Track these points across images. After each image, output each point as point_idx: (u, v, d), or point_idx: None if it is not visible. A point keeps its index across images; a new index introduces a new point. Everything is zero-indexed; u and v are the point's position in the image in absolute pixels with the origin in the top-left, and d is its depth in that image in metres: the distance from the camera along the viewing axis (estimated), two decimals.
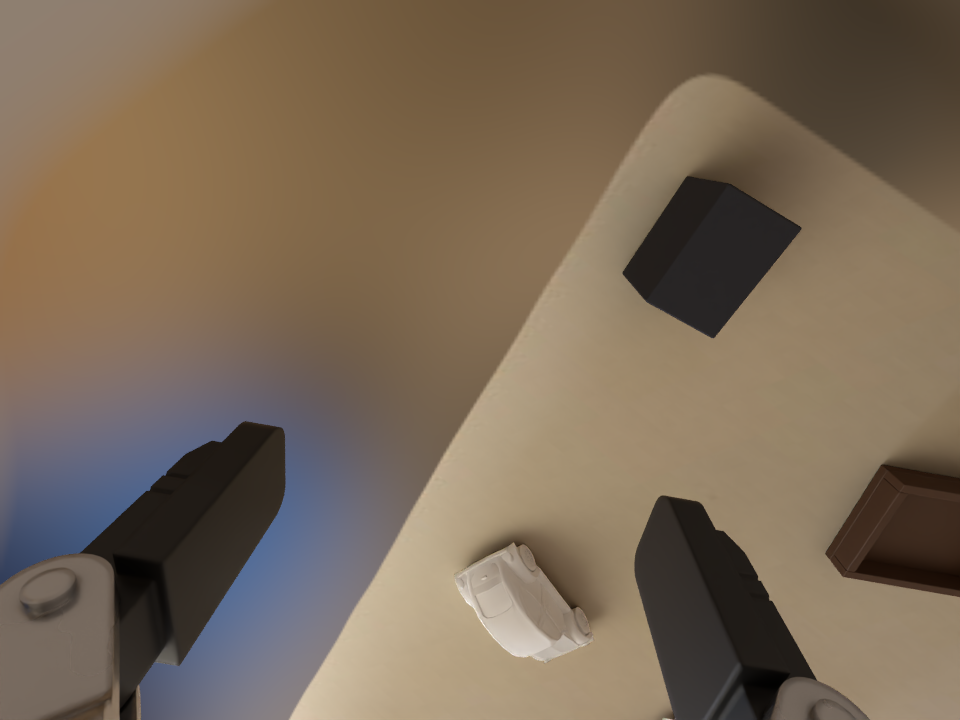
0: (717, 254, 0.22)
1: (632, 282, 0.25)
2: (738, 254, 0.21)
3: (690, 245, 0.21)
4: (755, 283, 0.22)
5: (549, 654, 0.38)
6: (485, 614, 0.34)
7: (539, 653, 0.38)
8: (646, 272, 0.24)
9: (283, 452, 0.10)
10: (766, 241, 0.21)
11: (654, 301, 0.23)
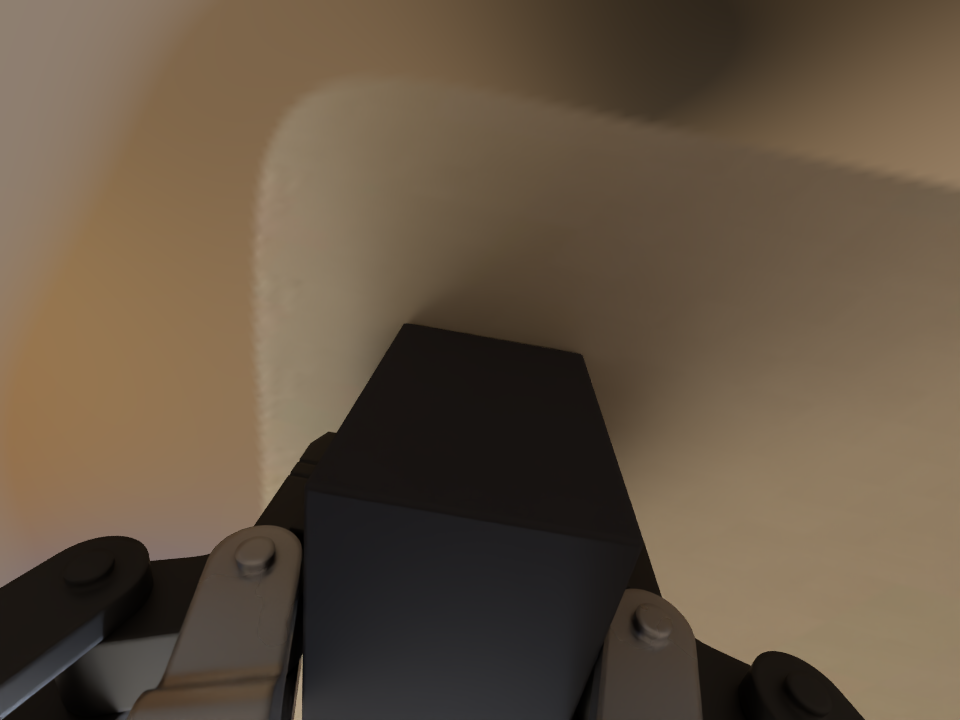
0: (410, 655, 0.07)
1: None
2: (472, 644, 0.06)
3: (315, 650, 0.07)
4: (573, 695, 0.07)
5: None
6: None
7: None
8: None
9: None
10: (540, 601, 0.06)
11: None
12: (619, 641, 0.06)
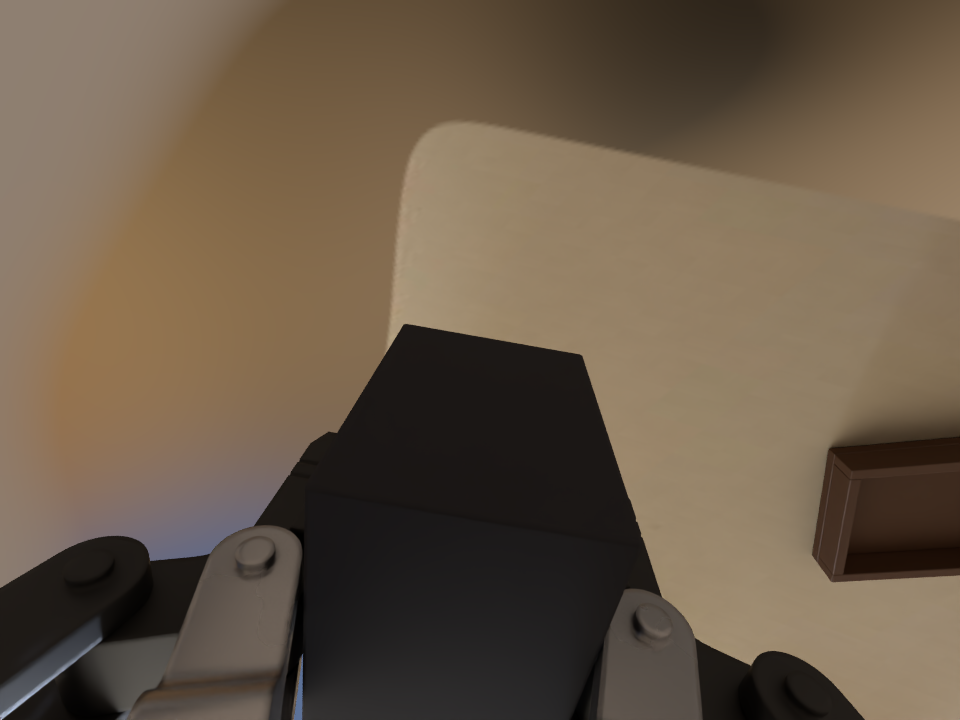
0: (410, 655, 0.07)
1: None
2: (472, 644, 0.06)
3: (315, 650, 0.07)
4: (572, 694, 0.07)
5: None
6: None
7: None
8: None
9: None
10: (540, 601, 0.06)
11: None
12: (619, 641, 0.06)
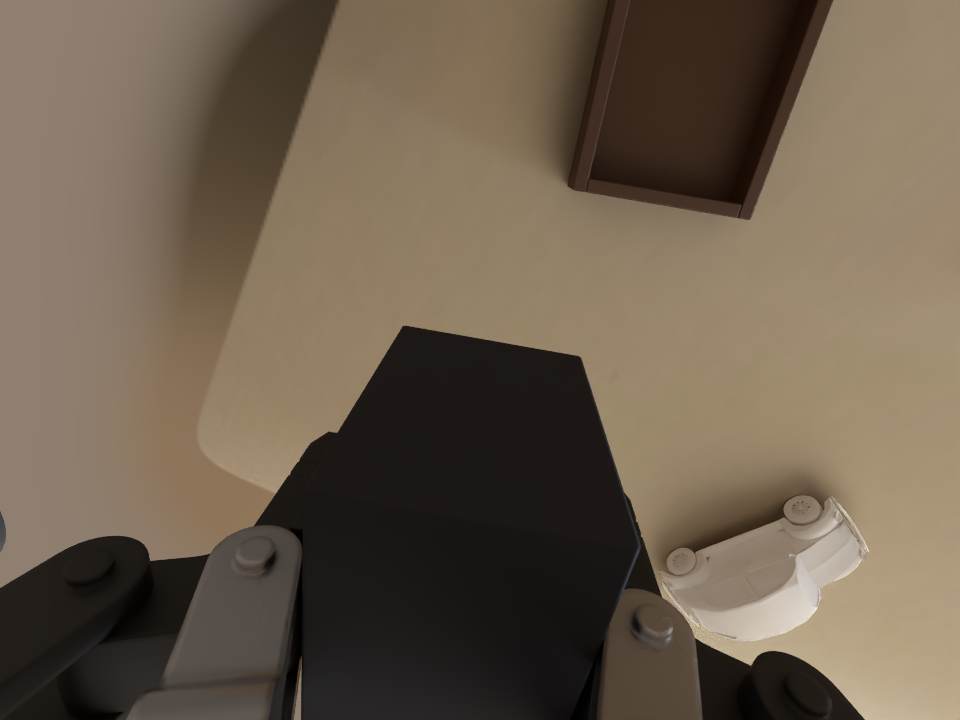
0: (409, 658, 0.07)
1: None
2: (471, 647, 0.06)
3: (314, 652, 0.07)
4: (570, 697, 0.07)
5: (841, 561, 0.29)
6: (732, 635, 0.30)
7: (832, 574, 0.29)
8: None
9: None
10: (537, 604, 0.06)
11: None
12: (619, 641, 0.06)
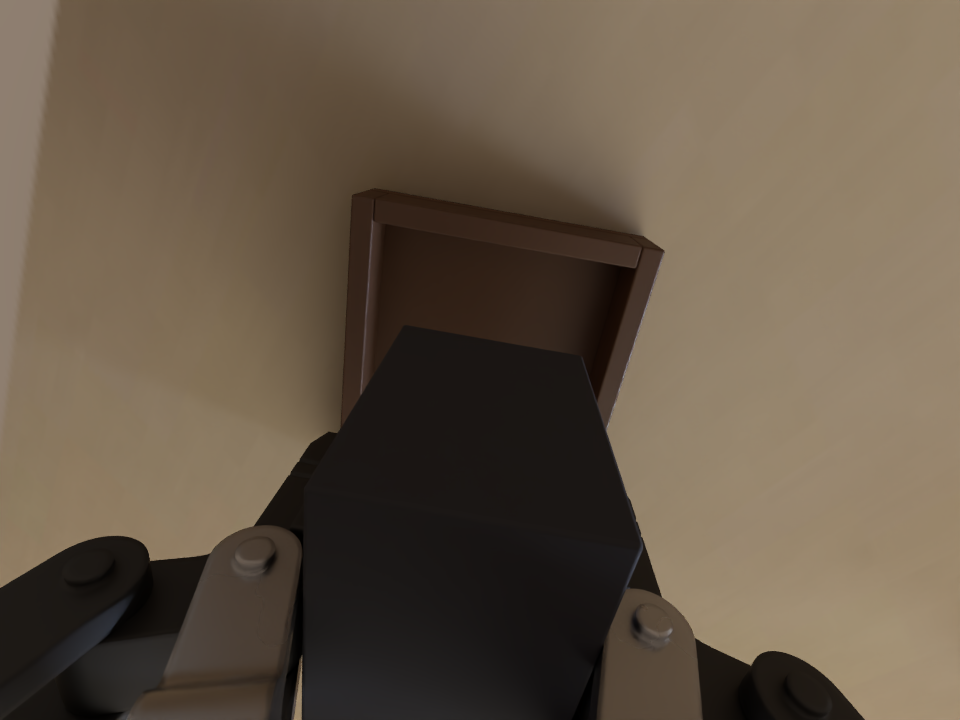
0: (410, 658, 0.07)
1: None
2: (471, 647, 0.06)
3: (315, 652, 0.07)
4: (572, 698, 0.07)
5: None
6: None
7: None
8: None
9: None
10: (539, 604, 0.06)
11: None
12: (619, 641, 0.06)
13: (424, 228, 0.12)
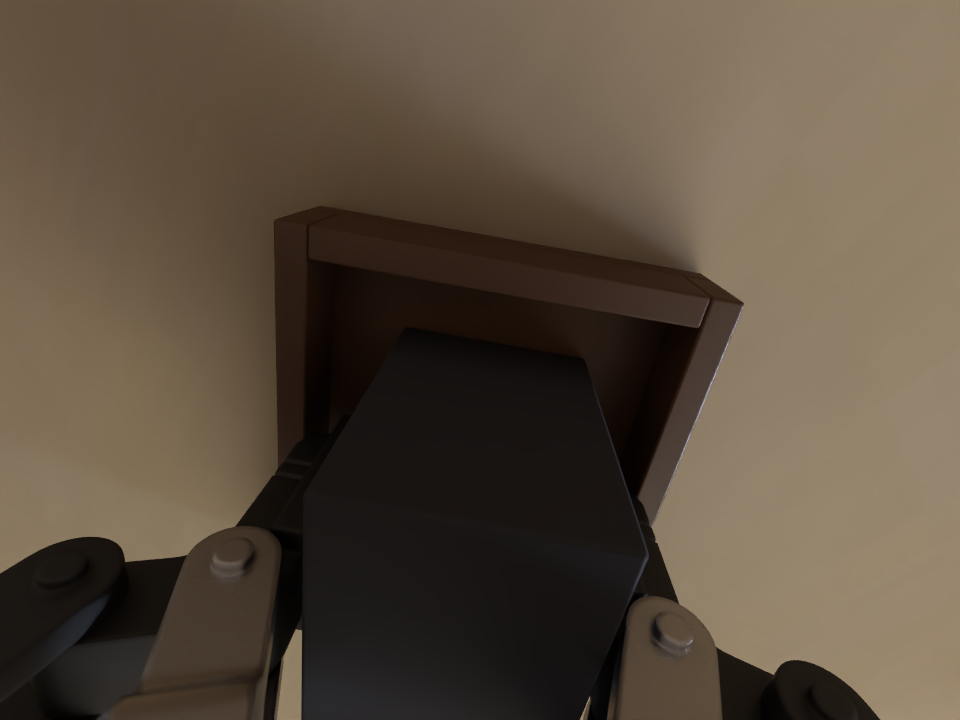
0: (411, 667, 0.06)
1: None
2: (474, 655, 0.06)
3: (314, 660, 0.07)
4: (576, 707, 0.07)
5: None
6: None
7: None
8: None
9: None
10: (542, 613, 0.06)
11: None
12: (638, 648, 0.06)
13: (383, 269, 0.08)
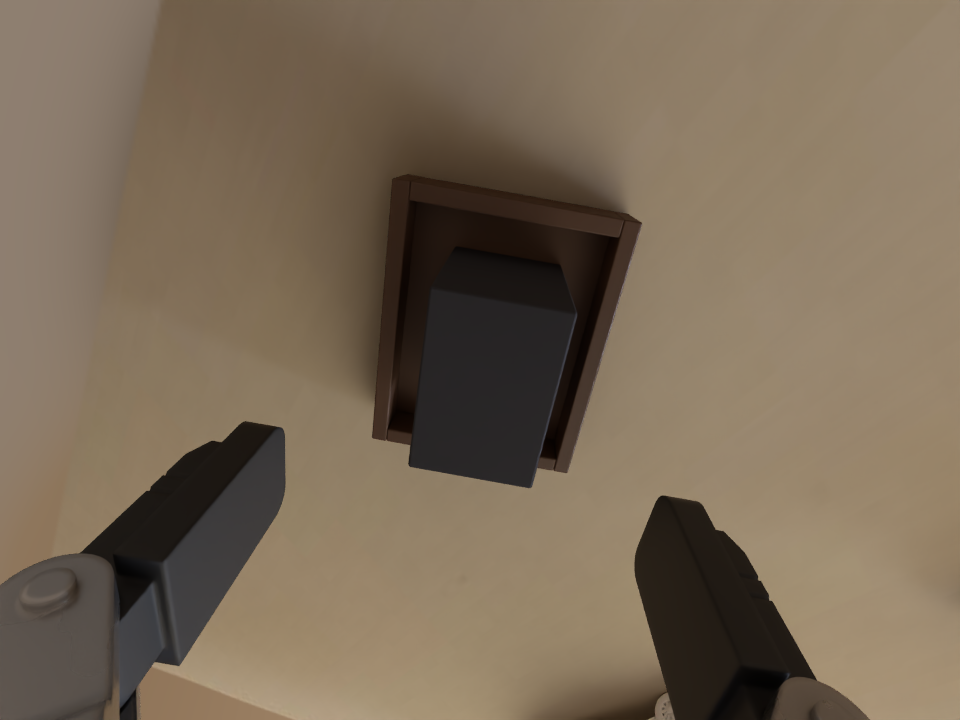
0: (470, 384, 0.14)
1: None
2: (500, 375, 0.13)
3: (425, 382, 0.14)
4: (548, 405, 0.14)
5: None
6: None
7: None
8: None
9: (283, 452, 0.10)
10: (532, 347, 0.13)
11: (419, 464, 0.15)
12: None
13: (449, 205, 0.16)
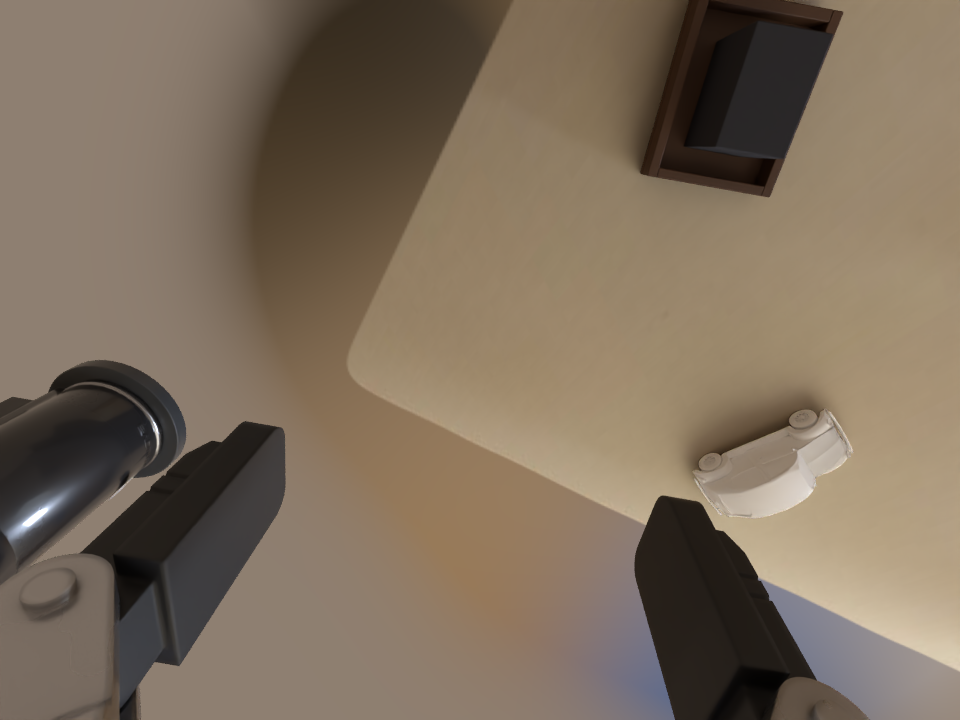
0: (766, 84, 0.25)
1: (696, 144, 0.29)
2: (784, 77, 0.25)
3: (740, 84, 0.25)
4: (806, 97, 0.25)
5: (831, 457, 0.38)
6: (748, 514, 0.40)
7: (825, 467, 0.39)
8: (707, 128, 0.28)
9: (283, 452, 0.10)
10: (805, 57, 0.25)
11: (722, 143, 0.27)
12: None
13: (733, 3, 0.27)
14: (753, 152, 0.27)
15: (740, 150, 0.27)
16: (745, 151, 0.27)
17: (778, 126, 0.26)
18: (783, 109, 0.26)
